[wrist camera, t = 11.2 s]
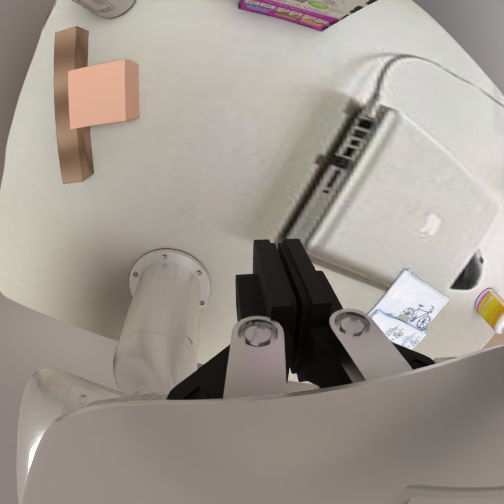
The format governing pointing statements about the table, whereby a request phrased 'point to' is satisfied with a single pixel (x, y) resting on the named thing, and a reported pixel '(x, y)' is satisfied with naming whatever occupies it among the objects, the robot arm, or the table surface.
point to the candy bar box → (306, 10)
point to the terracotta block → (103, 94)
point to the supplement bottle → (491, 309)
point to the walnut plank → (69, 140)
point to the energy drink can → (106, 6)
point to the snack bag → (407, 309)
